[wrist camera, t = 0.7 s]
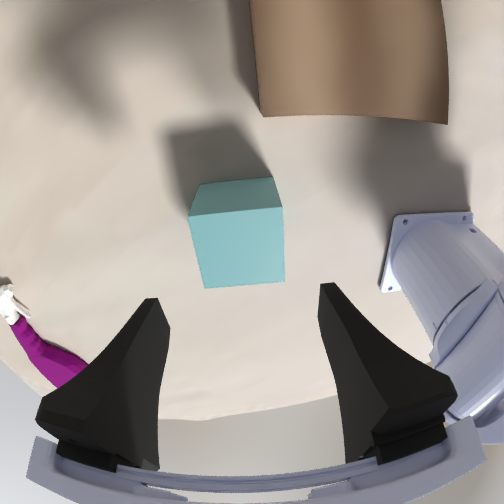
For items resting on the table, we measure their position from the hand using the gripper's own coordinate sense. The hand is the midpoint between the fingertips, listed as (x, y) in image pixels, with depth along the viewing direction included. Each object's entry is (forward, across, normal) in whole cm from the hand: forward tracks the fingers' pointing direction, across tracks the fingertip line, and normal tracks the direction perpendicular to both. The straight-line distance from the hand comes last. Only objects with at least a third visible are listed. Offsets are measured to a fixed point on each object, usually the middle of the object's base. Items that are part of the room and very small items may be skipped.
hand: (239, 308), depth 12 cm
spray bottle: (+10, +29, +17) cm, 35 cm away
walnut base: (+9, -8, -13) cm, 18 cm away
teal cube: (+10, 0, 0) cm, 10 cm away
